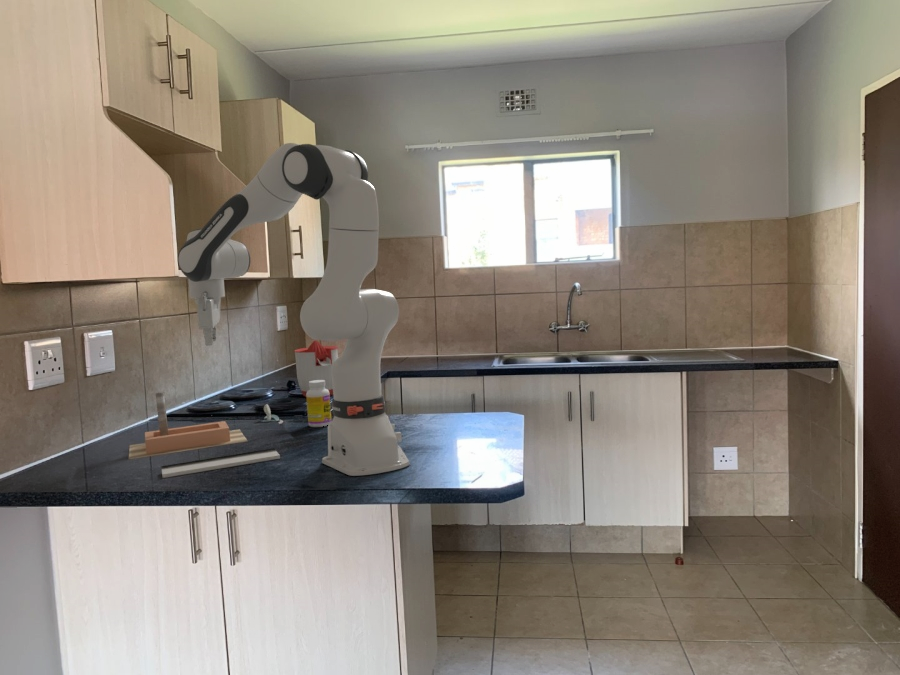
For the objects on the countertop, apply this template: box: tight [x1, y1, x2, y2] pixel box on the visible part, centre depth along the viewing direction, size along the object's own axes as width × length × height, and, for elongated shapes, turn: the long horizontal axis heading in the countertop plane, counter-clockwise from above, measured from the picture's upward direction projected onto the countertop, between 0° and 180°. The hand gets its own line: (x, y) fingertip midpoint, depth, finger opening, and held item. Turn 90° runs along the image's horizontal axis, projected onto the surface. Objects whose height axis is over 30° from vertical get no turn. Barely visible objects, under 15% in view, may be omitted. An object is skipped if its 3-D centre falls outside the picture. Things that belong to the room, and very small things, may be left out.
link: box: [144, 420, 230, 454], centre depth 177 cm, size 10×20×4 cm, turn 114°
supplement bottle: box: [305, 380, 332, 428], centre depth 196 cm, size 7×7×13 cm
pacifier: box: [260, 403, 284, 425], centre depth 202 cm, size 7×6×6 cm
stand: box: [128, 391, 248, 460], centre depth 177 cm, size 16×28×16 cm, turn 114°
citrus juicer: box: [293, 339, 339, 398], centre depth 245 cm, size 16×17×20 cm
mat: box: [160, 447, 281, 479], centre depth 164 cm, size 14×26×1 cm, turn 114°
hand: (211, 343), depth 181 cm, fingers open, 8 cm apart
